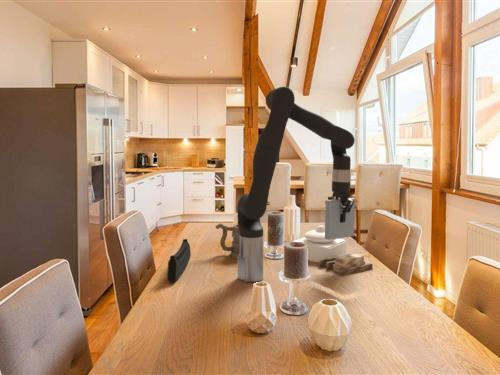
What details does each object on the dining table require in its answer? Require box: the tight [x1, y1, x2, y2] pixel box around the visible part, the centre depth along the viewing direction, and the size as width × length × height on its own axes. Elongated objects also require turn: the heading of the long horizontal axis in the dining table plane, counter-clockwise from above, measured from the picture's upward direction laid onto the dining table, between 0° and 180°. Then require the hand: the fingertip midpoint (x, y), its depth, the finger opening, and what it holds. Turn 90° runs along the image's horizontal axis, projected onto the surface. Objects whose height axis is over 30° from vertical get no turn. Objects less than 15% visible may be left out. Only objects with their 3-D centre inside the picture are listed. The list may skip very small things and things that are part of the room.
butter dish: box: [292, 224, 347, 264], centre depth 191 cm, size 18×18×16 cm
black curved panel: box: [166, 238, 191, 283], centre depth 173 cm, size 17×3×30 cm
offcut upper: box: [335, 253, 365, 266], centre depth 173 cm, size 12×4×2 cm, turn 121°
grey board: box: [324, 197, 356, 240], centre depth 176 cm, size 14×2×16 cm, turn 121°
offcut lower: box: [333, 260, 366, 273], centre depth 173 cm, size 14×4×2 cm, turn 121°
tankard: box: [215, 223, 240, 259], centre depth 199 cm, size 20×13×15 cm, turn 84°
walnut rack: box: [317, 253, 374, 277], centre depth 175 cm, size 18×14×4 cm
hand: (340, 221), depth 176 cm, fingers closed on grey board, 2 cm apart
